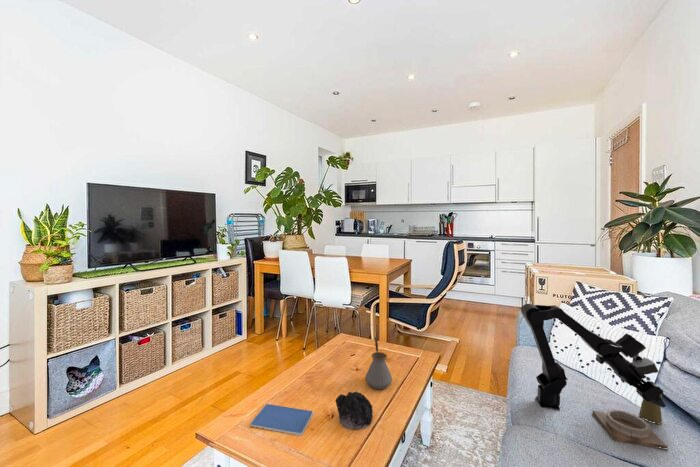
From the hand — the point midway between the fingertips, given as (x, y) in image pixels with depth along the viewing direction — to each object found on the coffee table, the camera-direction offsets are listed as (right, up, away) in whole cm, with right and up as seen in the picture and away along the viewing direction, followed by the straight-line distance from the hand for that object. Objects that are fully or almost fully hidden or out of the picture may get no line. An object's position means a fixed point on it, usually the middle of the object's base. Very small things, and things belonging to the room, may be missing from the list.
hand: (655, 399), depth 109 cm
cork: (-1, -8, +1) cm, 8 cm away
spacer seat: (-15, -8, -6) cm, 18 cm away
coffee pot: (-98, -5, +26) cm, 101 cm away
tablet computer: (-134, -7, -2) cm, 134 cm away
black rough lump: (-108, -7, -1) cm, 109 cm away
